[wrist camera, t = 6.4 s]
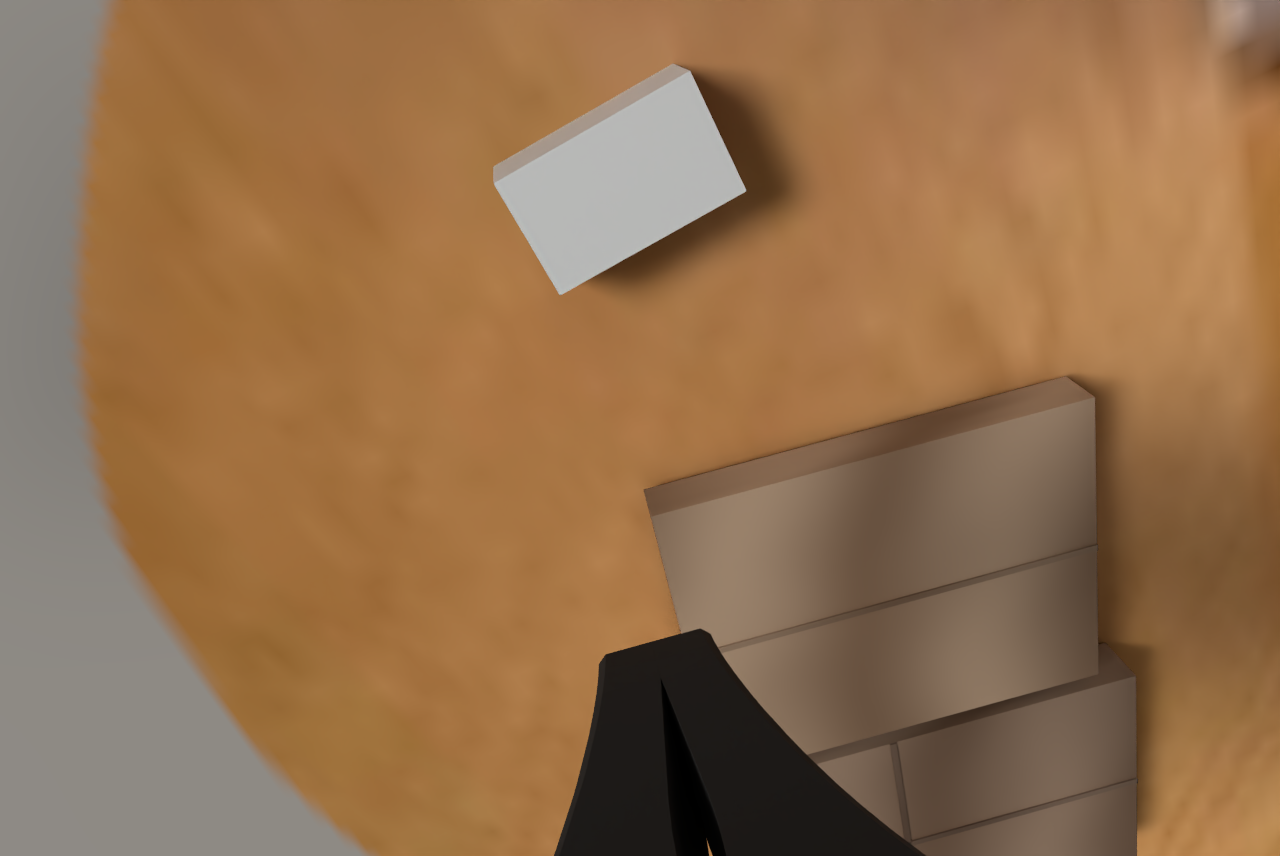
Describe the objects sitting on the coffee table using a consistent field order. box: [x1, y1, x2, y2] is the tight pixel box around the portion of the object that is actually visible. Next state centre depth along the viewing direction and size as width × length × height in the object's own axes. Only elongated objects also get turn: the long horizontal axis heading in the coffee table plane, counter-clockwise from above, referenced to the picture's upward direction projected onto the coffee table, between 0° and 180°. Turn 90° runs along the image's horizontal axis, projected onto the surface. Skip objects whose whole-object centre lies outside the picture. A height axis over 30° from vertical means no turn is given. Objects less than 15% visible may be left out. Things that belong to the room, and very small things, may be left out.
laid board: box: [808, 643, 1138, 856], centre depth 27 cm, size 10×7×2 cm
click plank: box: [644, 376, 1099, 755], centre depth 23 cm, size 10×8×1 cm
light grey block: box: [493, 64, 746, 295], centre depth 19 cm, size 4×2×2 cm, turn 118°
